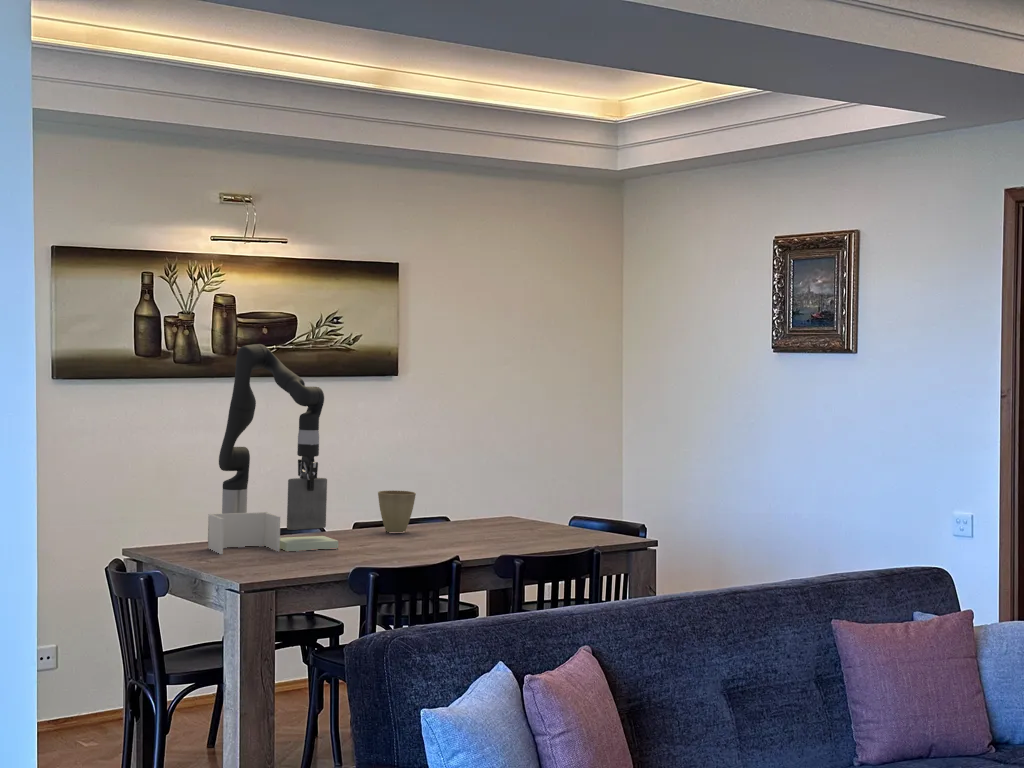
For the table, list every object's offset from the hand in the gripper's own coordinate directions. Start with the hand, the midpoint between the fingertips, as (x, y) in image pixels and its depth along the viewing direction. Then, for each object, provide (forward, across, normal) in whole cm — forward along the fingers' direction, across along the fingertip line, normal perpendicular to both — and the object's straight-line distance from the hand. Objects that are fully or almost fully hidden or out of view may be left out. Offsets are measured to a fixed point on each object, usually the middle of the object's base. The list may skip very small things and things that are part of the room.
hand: (307, 489), depth 437 cm
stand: (+21, 0, 0) cm, 21 cm away
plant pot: (+21, -28, +48) cm, 59 cm away
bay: (+21, -2, -22) cm, 30 cm away
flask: (+14, 0, 0) cm, 14 cm away
